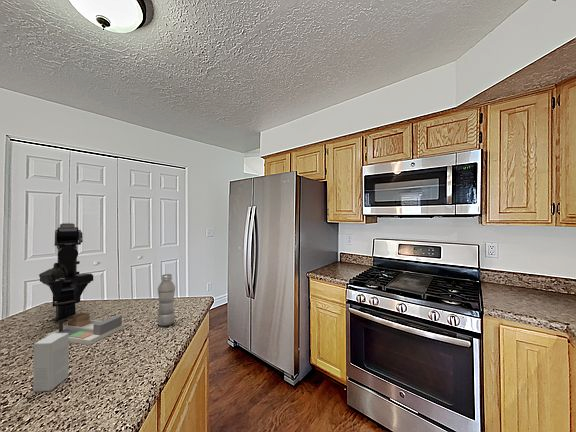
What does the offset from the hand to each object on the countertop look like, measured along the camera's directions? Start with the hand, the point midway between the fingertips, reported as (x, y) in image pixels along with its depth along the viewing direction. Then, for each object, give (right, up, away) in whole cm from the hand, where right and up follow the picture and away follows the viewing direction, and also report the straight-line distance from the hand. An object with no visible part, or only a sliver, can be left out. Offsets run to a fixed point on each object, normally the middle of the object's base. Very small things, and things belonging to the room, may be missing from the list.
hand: (66, 300), depth 101 cm
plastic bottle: (+36, -12, +5) cm, 38 cm away
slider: (+5, -9, -4) cm, 11 cm away
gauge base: (+11, -11, -4) cm, 16 cm away
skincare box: (+25, -11, -34) cm, 43 cm away
